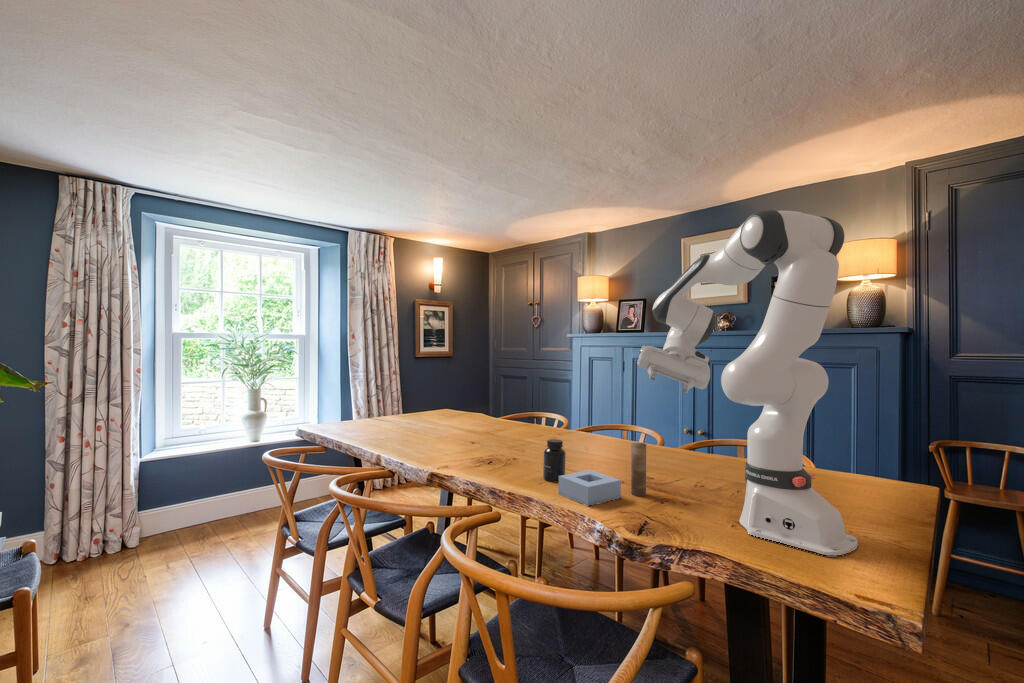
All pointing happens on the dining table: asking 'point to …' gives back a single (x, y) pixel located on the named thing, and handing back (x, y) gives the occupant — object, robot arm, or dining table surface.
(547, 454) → the supplement bottle
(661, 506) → the dining table surface
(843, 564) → the dining table surface
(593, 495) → the socket block
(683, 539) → the dining table surface
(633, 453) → the dowel
